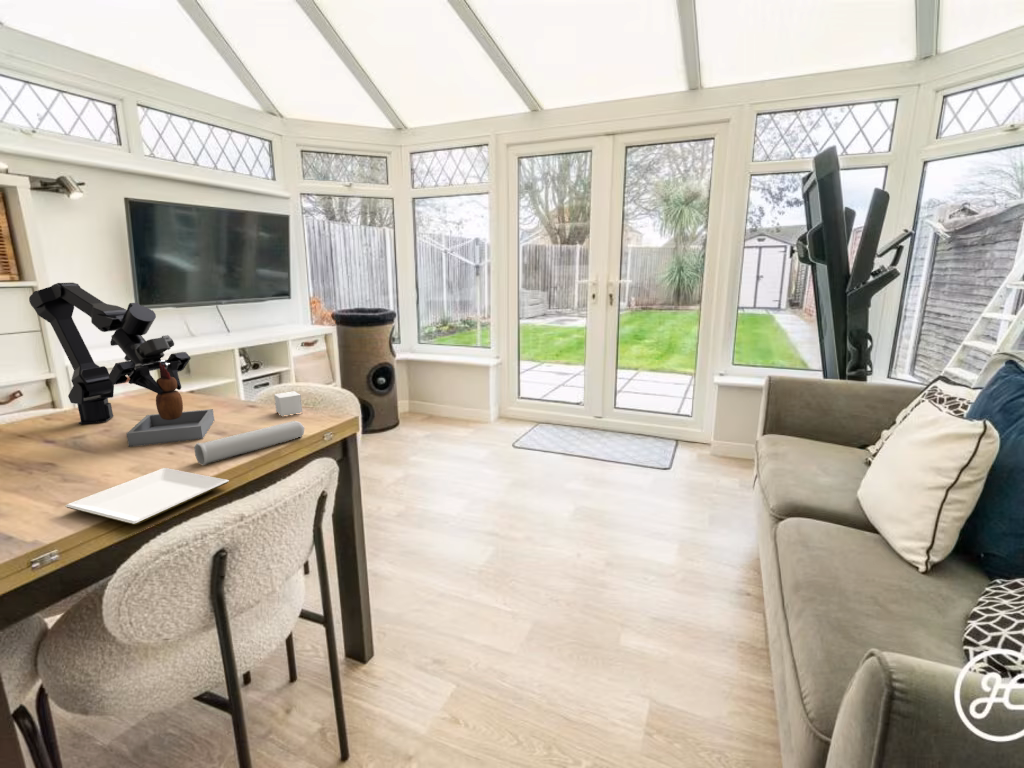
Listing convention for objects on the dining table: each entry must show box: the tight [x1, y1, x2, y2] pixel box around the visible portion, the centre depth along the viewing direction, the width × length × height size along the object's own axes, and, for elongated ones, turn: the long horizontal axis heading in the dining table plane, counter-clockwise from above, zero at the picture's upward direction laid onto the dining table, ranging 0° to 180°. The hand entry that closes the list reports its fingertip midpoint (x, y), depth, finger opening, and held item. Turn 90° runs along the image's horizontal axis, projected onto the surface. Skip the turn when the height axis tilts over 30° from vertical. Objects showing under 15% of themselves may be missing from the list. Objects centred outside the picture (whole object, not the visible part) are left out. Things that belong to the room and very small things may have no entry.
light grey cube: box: [273, 390, 303, 417], centre depth 152 cm, size 6×6×6 cm
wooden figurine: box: [155, 363, 184, 420], centre depth 132 cm, size 7×6×15 cm
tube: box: [193, 420, 305, 466], centre depth 123 cm, size 5×5×25 cm
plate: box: [65, 467, 230, 526], centre depth 96 cm, size 19×19×2 cm
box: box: [125, 408, 215, 448], centre depth 135 cm, size 16×17×4 cm
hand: (171, 391), depth 132 cm, fingers closed on wooden figurine, 5 cm apart
